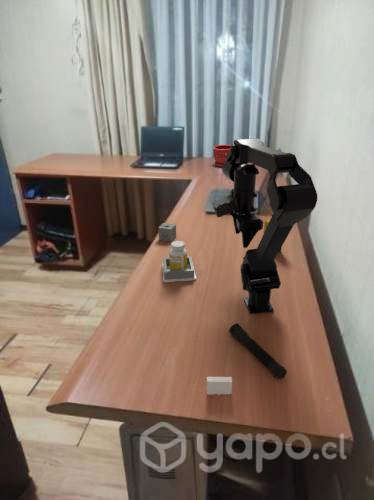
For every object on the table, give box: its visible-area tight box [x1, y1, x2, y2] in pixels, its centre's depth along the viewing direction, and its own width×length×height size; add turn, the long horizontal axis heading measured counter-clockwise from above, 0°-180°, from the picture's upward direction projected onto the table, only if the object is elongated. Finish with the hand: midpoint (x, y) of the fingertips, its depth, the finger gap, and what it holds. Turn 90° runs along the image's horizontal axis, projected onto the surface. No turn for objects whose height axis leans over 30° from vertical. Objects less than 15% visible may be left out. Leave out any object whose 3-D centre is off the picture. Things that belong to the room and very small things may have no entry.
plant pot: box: [212, 144, 232, 168], centre depth 227 cm, size 13×13×12 cm
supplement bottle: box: [169, 240, 188, 271], centre depth 108 cm, size 5×5×10 cm
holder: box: [161, 255, 197, 283], centre depth 110 cm, size 10×10×3 cm
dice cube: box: [157, 222, 177, 242], centre depth 132 cm, size 5×5×5 cm
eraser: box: [206, 376, 233, 396], centre depth 69 cm, size 1×5×4 cm, turn 88°
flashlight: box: [229, 323, 288, 380], centre depth 78 cm, size 3×16×3 cm, turn 29°
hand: (241, 240), depth 101 cm, fingers open, 9 cm apart
